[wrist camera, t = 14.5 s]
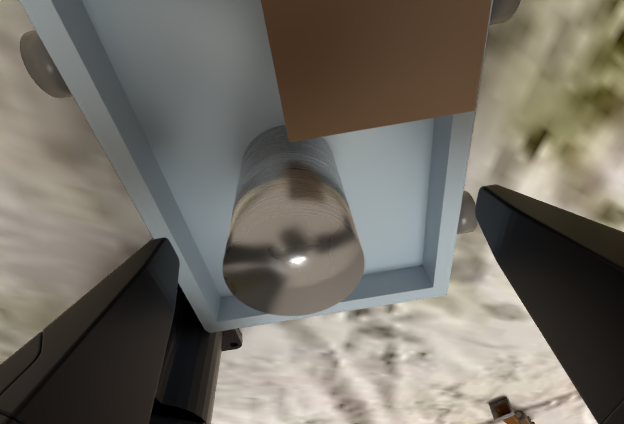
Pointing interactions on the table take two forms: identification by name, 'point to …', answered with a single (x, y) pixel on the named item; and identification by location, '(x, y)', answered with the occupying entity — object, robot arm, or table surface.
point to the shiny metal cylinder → (291, 229)
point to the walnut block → (374, 61)
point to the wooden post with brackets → (508, 413)
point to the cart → (243, 142)
